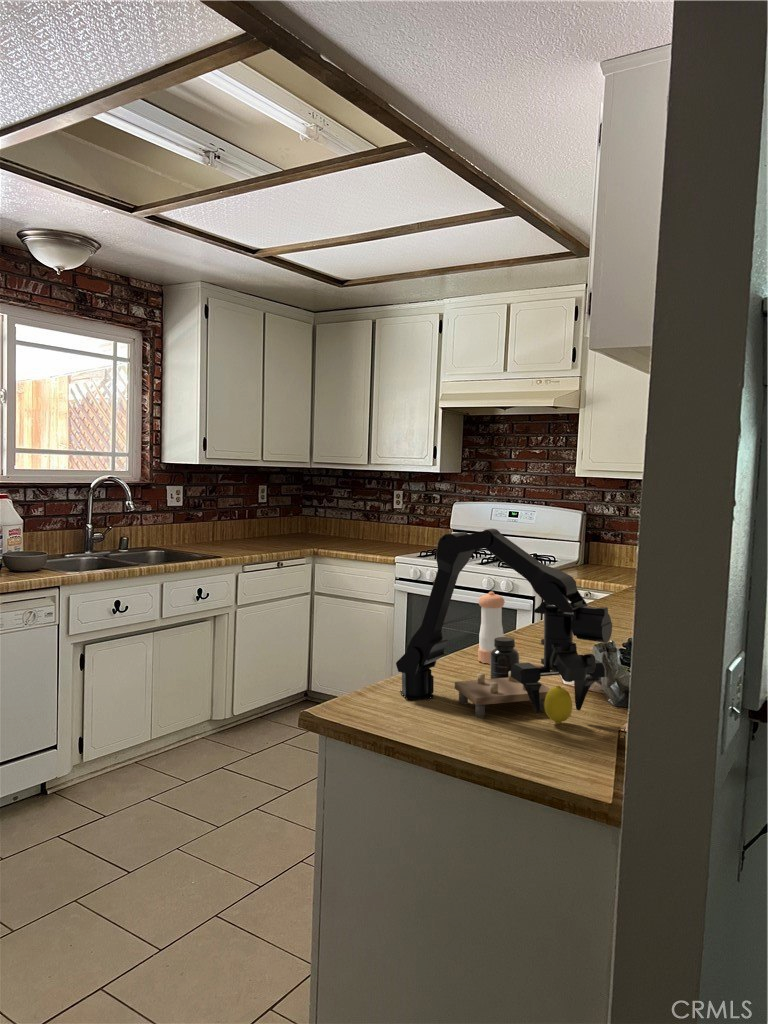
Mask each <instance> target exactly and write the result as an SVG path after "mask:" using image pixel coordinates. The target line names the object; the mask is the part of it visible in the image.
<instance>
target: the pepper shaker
mask: <svg viewBox="0 0 768 1024" xmlns="http://www.w3.org/2000/svg"><path fill="white" fill-rule="evenodd" d="M478 605H479V606H480V607H481V609H480V611H481V616H480V617H481V618H480V620H481V621H480V629H479V634H478V635H479V636H478V639H479V641H478V642H479V646H478V649H477V661H478V660H479V661H481V662H484V663H489V664H490V654H491V652H492V650H494V649H495V647H494V639H495V638H498V637H505V635H504V628H503V622H502V620H503V617H502V612H503V611H502V607H504V605H505V598H503V596H502V595H499V594H497V593H496V594H495V592H494V591H489V592H488V593H486V594H483V595H481V596H480V597H479V599H478Z"/></svg>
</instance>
